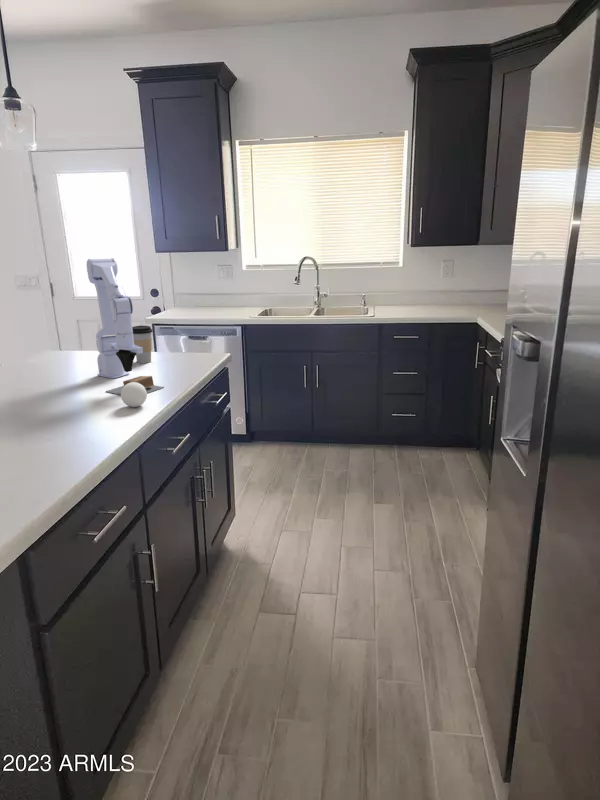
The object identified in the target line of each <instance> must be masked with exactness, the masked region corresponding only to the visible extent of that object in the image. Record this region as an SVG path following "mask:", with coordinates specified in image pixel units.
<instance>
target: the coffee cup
mask: <svg viewBox="0 0 600 800" xmlns="http://www.w3.org/2000/svg"><path fill="white" fill-rule="evenodd" d="M132 329H133V339H134V345H137V346H139V347H143V353H140V354H137V353H136V355H135V359H136V362H137V363H138V364H148V363H150V362H151V363H152V349H153V348H152V347H153V344H152V343H153V342H152V339H153V338H152V332H153V329H152V328H151V326H150V325H134V326H132Z"/></svg>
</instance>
